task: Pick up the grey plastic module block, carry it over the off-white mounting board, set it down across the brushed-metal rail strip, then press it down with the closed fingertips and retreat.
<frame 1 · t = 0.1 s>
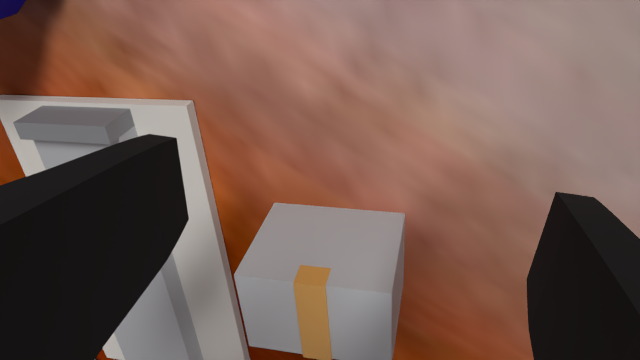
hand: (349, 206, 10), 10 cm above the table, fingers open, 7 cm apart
module: (340, 241, 23), on the table
rail board: (143, 252, 27), on the table
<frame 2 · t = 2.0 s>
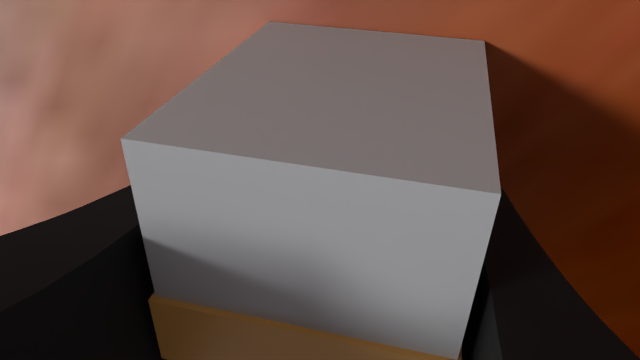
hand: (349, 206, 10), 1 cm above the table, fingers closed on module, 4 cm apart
module: (361, 169, 11), on the table, touching gripper
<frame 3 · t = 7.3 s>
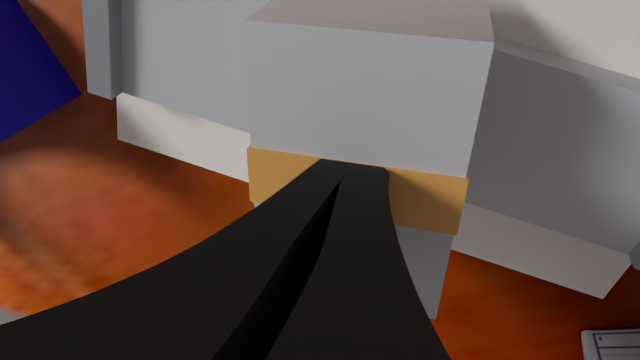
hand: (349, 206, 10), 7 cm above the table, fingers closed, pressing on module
module: (386, 91, 13), point 2 cm above the table, touching gripper, rail board
rail board: (392, 81, 15), on the table
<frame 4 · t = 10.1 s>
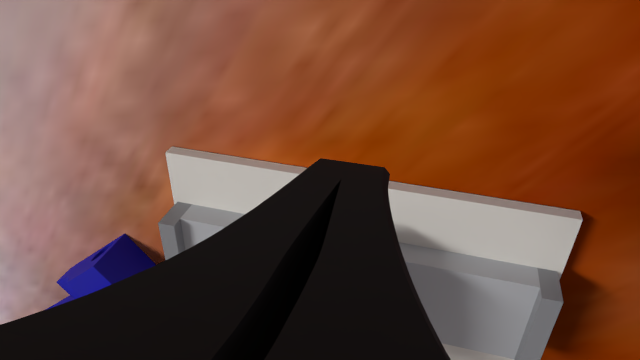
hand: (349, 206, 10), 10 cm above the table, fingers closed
cable clip: (101, 288, 32), on the table
rail board: (352, 262, 24), on the table
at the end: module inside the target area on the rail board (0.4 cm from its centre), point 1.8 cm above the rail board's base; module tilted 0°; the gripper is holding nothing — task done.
